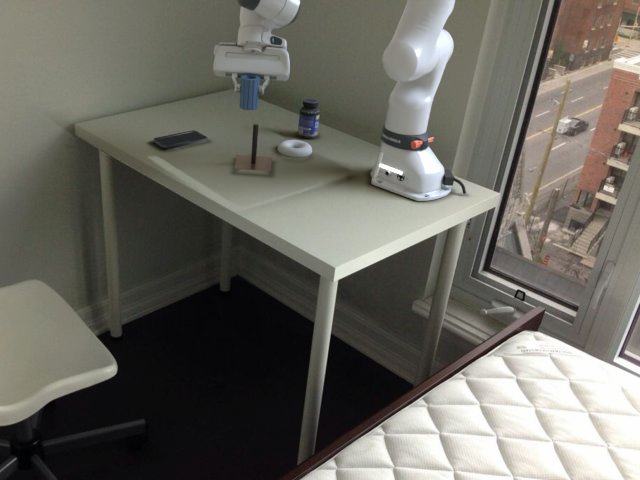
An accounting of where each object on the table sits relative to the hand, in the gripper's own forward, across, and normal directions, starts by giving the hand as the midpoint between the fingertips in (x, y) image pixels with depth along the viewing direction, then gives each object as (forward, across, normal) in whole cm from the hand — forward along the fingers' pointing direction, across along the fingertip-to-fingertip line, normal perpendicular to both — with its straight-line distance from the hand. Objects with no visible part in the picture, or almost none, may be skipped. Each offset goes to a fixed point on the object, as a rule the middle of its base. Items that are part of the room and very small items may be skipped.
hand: (249, 92), depth 189 cm
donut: (+7, +14, +23) cm, 28 cm away
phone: (+4, -20, +26) cm, 33 cm away
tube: (+2, 0, +3) cm, 4 cm away
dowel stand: (+14, +2, +15) cm, 21 cm away
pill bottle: (-5, +18, +35) cm, 40 cm away
